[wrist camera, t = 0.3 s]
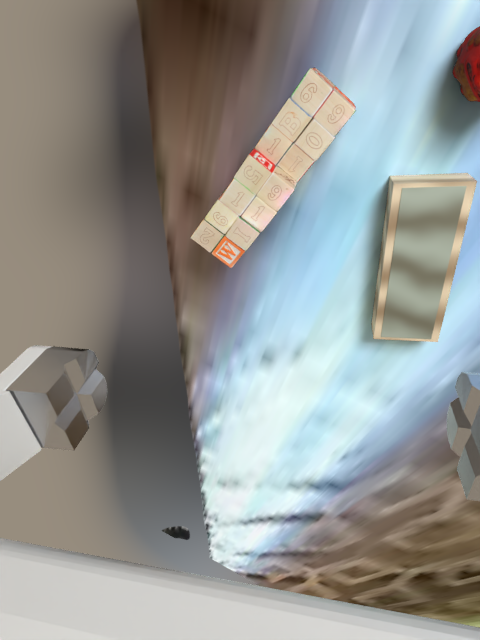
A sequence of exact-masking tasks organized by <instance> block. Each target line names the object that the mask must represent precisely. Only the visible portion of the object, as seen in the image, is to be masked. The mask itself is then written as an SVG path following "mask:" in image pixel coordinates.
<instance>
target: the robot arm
mask: <svg viewBox="0 0 480 640" xmlns="http://www.w3.org/2000/svg"><path fill="white" fill-rule="evenodd" d="M98 363H99V362H98V360H97V357H96V355H95V353H94V352H93V351H91V350H89V349H79V348H66V347H55V346H53V347H50V346H40V345H35V346H32V347H29V348H28V349H27V350H25V351H24V352H23V353H22V354H21V355H20V356H19V357H18V358H17V359H16V360H15V361H14V362H13V363H12V364H11V365H9V366H8V367H7V368H6V369H5V370H4V371H3V372H2V373H1V374H0V480H2V479H3V478H4V477H6V476H7V475H8V474H10V473H11V472H12V471H14V470H15V469H16V468H18V467H19V466H21V465H22V464H23V463H24V462H26V461H27V460H29V459H30V458H31V457H32V456H34V455H35V454H37V453H38V452H39V451H41V450H42V449H41V447H43V448H52V449H64V450H75V448H76V447H77V445H78V444H79V442H80V441H81V439H82V438H83V436H84V435H85V434H86V432H87V430H88V429H89V423H88V420H89V419H91V418H93V417H94V416H96V415H97V414H99V412H100V411H101V409H102V407H103V406H104V404H105V400H106V396H107V384H106V382H105V378H104V376H103V375H101V374H100V373H99V372H98V371H97V370H96V368H97V365H98ZM455 389H456V391H457V394H458V398H457V399H455V400H454V401H453V402H451V403H450V406H449V410H448V414H447V434H448V439H449V443H450V446H451V449H452V450H453V451H454V452H455V453H456V454H457V455H458V456H459V457H461V458H460V461H459V464H458V467H457V470H458V473H459V476H460V480H461V483H462V486H463V489H464V492H465V496H466V499H468V500H475V501H480V373H467V372H462V373H461V374H460V375H459V377H458V379H457V382H456V385H455ZM0 640H480V628H479V627H474V626H469V625H463V624H458V623H453V622H447V621H442V620H437V619H431V618H426V617H421V616H415V615H410V614H405V613H399V612H394V611H389V610H383V609H378V608H373V607H367V606H362V605H357V604H351V603H346V602H341V601H335V600H330V599H325V598H319V597H314V596H309V595H303V594H298V593H293V592H287V591H282V590H277V589H271V588H266V587H261V586H255V585H250V584H245V583H239V582H233V581H228V580H223V579H217V578H213V577H207V576H201V575H196V574H191V573H186V572H180V571H175V570H169V569H164V568H159V567H153V566H148V565H143V564H138V563H132V562H127V561H121V560H116V559H111V558H105V557H100V556H95V555H89V554H84V553H78V552H73V551H68V550H62V549H57V548H52V547H46V546H41V545H36V544H30V543H25V542H20V541H14V540H8V539H3V538H0Z"/></svg>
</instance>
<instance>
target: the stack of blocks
mask: <svg viewBox="0 0 480 640" xmlns="http://www.w3.org/2000/svg"><path fill="white" fill-rule="evenodd" d="M355 108H356V107H355V105H354V103H353V102H352V101H351V100H350V99H349V98H348V97H347V96H345V95H344V94H343V93H342V92H341V91H340V90H339V89H338V88H337V87H336V86H335V85H334V84H333V83H332V82H331V81H330V80H329V79H328V78H327V77H326V76H324V75H323V74H322V73H321V72H320V71H319V70H318V69H316V68H313V69H312V68H310V69H309V70H308V72H307V73H306V75H305V76H304V78H303V79H302V80H301V82H300V83H299V85H298V86H297V88H296V89H295V91H294V92H293V94H292V95H291V97H290V98H289V99H288V100H287V102H286V103H285V104H284V106H283V107H282V109H281V110H280V112H279V113H278V115H277V116H276V117H275V119H274V120H273V122H272V123H271V125H270V126H269V127H268V129H267V130H266V132H265V133H264V135H263V136H262V138H261V139H260V141H259V142H258V144H257V145H256V147H255V148H254V149H253V150H252V151H251V153H250V154H249V155H248V157H247V158H246V160H245V161H244V163H243V164H242V166H241V167H240V169H239V170H238V172H237V173H236V175H235V176H234V179H233V180H232V182H231V183H230V185H229V186H228V187H227V188H226V190H225V191H224V192H223V193H222V195H221V196H220V197H219V199H218V200H217V201H216V203H215V204H214V206H213V207H212V208H211V210H210V211H209V213H208V214H207V216H206V217H205V218H204V219H203V221H202V222H201V224H200V225H199V226H198V228H197V229H196V231H195V232H194V233H193V235H192V236H191V238H192V239H193V240H194V241H195V242H197V243H198V244H199V245H201V246H202V247H203V248H205V249H206V250H207V251H208V252H212V254H213V255H214V256H215V257H217V258H218V259H219V260H221V261H222V262H223V263H225V264H226V265H227V266H229V267H230V268H232V267H233V266H234V265H235V263H236V262H237V261H238V260H239V258H240V257H241V256H242V255H243V253H244V252H245V251H246V250H247V249H248V248H249V247H250V245H251V244H252V243H253V242H254V240H255V239H256V238H257V236H258V235H259V234H260V232H262V231H263V230H264V229H265V228H266V226H267V225H268V224H269V223H270V221H271V220H272V219H273V217H274V216H275V215H276V213H277V212H278V210H279V209H280V208H281V207H282V206H283V204H284V203H285V202H286V201H287V199H288V198H289V197H290V195H291V194H292V193H293V192H294V190H295V187H296V184H297V182H298V181H299V180H300V179H301V177H302V176H303V175H304V174H305V173H306V171H307V170H308V169H309V168H310V167H311V165H312V164H313V163H314V162H315V161H317V159H318V158H319V157H320V156H321V155H322V154H323V152H324V151H325V150H326V149H327V147H328V146H329V145H330V144H331V143H332V141H333V140H334V139H335V136H336V134H337V133H338V132H339V131H340V130H341V128H342V127H343V126H344V125H345V124H346V122H347V121H348V120H349V119H350V117H351V116H352V115H353V114H354V113H355V111H356V110H355Z"/></svg>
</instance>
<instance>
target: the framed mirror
mask: <svg viewBox="0 0 480 640" xmlns="http://www.w3.org/2000/svg"><path fill="white" fill-rule="evenodd" d="M476 183H477V181H476V180H475V179H474V178H473V177H471V176H470V175H469V174H468V173H453V174H426V175H399V176H390V179H389V187H388V195H387V203H386V211H385V219H384V227H383V236H382V244H381V252H380V260H379V268H378V276H377V284H376V292H375V300H374V308H373V316H372V324H371V325H372V332H373V339H387V340H409V341H430V342H438V338H439V334H440V330H441V326H442V322H443V318H444V314H445V310H446V306H447V302H448V297H449V293H450V289H451V285H452V281H453V277H454V273H455V269H456V265H457V261H458V257H459V253H460V248H461V244H462V240H463V236H464V232H465V228H466V224H467V220H468V216H469V212H470V208H471V204H472V200H473V195H474V191H475V187H476Z"/></svg>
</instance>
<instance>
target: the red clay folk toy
mask: <svg viewBox="0 0 480 640" xmlns="http://www.w3.org/2000/svg"><path fill="white" fill-rule="evenodd" d="M453 75H454V77H455V78H456V79H458V81H459V82H460V84H461V85H460V88H461V92H462V94H463V95H464V96H465V97H466V98H467V100H469V101H478V102H480V27H478V28H476V29H475V30H473V31H472V32H471V33H470V34H469V35H468V36H467V37H466V38H465V40H464V42H463V43H462V44H461V46H460V47H459V49H458V51H457V61H456V64H455V66H454V69H453Z"/></svg>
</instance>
